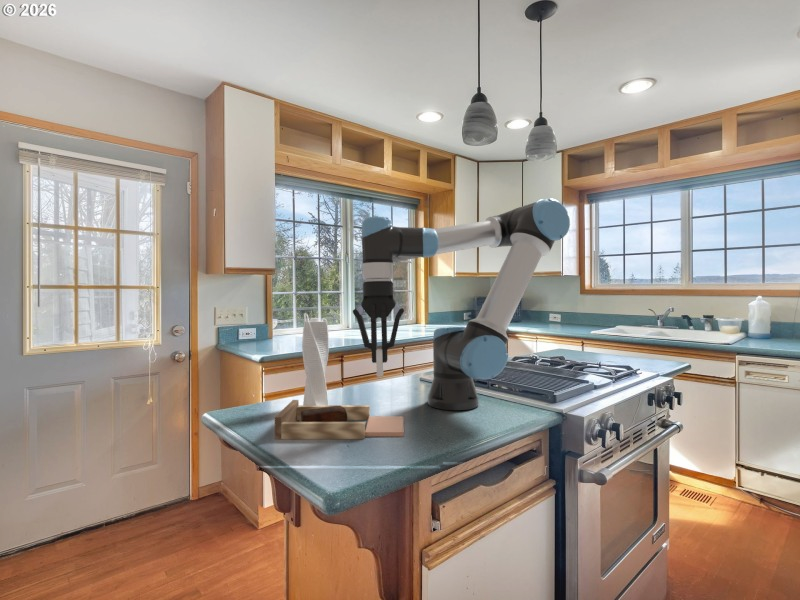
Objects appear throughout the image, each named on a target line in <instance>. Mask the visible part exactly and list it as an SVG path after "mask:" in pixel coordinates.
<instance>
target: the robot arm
mask: <svg viewBox="0 0 800 600" xmlns="http://www.w3.org/2000/svg"><path fill="white" fill-rule="evenodd" d="M568 213H569V212H568V210H567V208H566V207H565V206H564V205H563V204H562V203H561V202H560V201H559V200H558V199H555V198H545V199H539V200H536V202H531V203H529V204H526V205H523V206H520V207H519V206H518V207H516V208H514V209H512V210H511V209H510V210H509V211H506V212H504V213H500V214H498V215H494V216H493V215H491V216H489V217H487V218H486V219H485V220H483V221H481V220H480V221H476V222H475V221H474V222H469V223H463V224H456V225H450V226H444V227H437V228H430V227H424V226H423V227H399V226H394V223H393V221H392V219H391V218H390V217H387V216H386V217H385V216H369V217H366V218H365V219H363V221H362V223H361V237H360V239H361V250H362V251H361V253H362V264H361V265H362V280H364V281H363V283H362V301H361V303H360V306H357V308H354V309H353V310H352V313H353V316H354V317H355V318H356V320H357V323H358V327H359V331H360V332H359V333H360V335H361V336H360V337H361V339H362V342H363V346H364V348H367V349H369V350H370V351H371V362H372V363H373V364H376V377H378V378H380V377H382V378H383V377H384V363H387V362H388V349H391V348H394V346H395V342H396V338H397V332H398V329H399V326H400V325H399V324H400V319H401V317H402V315H403V314H404V312H405V309H404V308H403V307H401V306H399V305H397V304H396V300H395V299H394V282H393V281H392V280H393V278H394V263H398V262H399V263H400V262H401V261H406V260H407V261H409V260H413V259H417V258H423V259H424V258H432V257H434V256H436V255H441V254H447V253H452V252H453V253H454V252H458V251H464V250H469V249H470V250H471V249H475V248H481V247H486V246H487V247H488V246H489V248H493V249H494V248H500V247H510V249H509V251H508V253H507V255H506V257H505V260H504V261H503V263H502V264H501V267H500V268H499V269H500V270H499V271H498V274H497V275H496V277H495V280H494V282H493V284H492V285H491V288H490V290H489V292H488V294H487V296H486V298H485V300H484V303H483V304H482V307H481V309H480V311H479V312H478V315H477V317H475V318H472V319H469V320H468V322H467V324H466V326H450V327H449V326H448V327H438V328H436V329H435V330H434V331H433V339H432V343H433V344H432V346H433V347H432V349H433V350H432V352H433V355H432V356H433V360H432V361H433V378H432V382H431V385H430V388H429V391H428V394H427V405H428V406H429V407H432V408H434V409H437V410H438V409H439V410H445V411H468V410H473V409H476V408H477V407H478V406H479V395H478V394H479V393H478V391H477V388H476V386H475V385H476V384H475V381H474V379H475V380H476V379H477V380H483V381H484V380H490V379H492V378H495V377H497V376H498V375H500V374H501V373H502V372H503V370H504V369H505V367H506V366H507V363H508V360H509V353H508V348H507V344H508V342H509V336H508V335H507V330H508V328H509V326H510V323H511V321H512V319H513V317H514V315H515V313H516V311H517V309H518V307H519V304H520V302H521V300H522V298H523V296H524V294H525V292H526V289H527V288H528V285H529V283H530V281H531V279H532V277H533V275H534V273H535V271H536V269H537V267H538V264H539V263H540V260H541V258H542V257H545V256H548V255H549V253H550V252H551V250H552V249H553V248H552V247H553V245H554V244H555V242H556V241H559V240H562V239H563V238H565V237H566V235H567V234H568V232H569V231H570V225H571V220H570V216H569V214H568ZM393 310H394V315H395V317H394V321H393V326H392V330H391V335H390V339H389V341H388V323H387V322H388V320H387V319H388V317H389V316H390V314H391V313H392V312H393ZM364 312H365V313H366V314H367V316H368V317H369V318H370V337H371V338H369V334H368V332H367V328H366V325H365V321H364V317H363V315H364ZM378 319H380V321H381V324H380V325H381V348H378V338H377V335H378V334H377V333H378V332H377V330H378V329H377V322H378V321H377V320H378ZM370 339H371V340H370Z"/></svg>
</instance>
